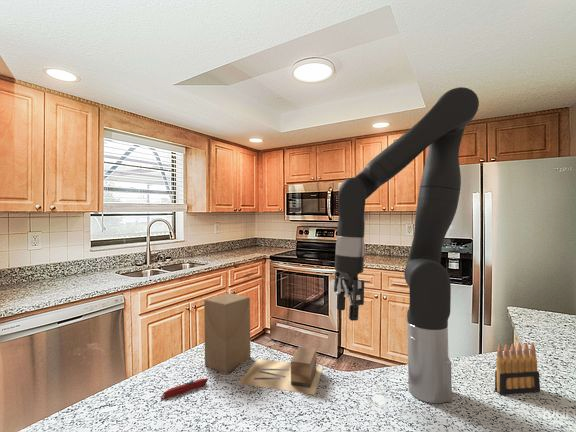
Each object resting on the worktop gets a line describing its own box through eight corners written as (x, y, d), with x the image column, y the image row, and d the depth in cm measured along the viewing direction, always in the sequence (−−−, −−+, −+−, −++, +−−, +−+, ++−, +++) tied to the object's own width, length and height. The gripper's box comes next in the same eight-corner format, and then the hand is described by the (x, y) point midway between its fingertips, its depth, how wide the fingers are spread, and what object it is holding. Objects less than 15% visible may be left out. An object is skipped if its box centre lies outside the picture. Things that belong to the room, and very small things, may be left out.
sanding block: (316, 370, 83) (316, 348, 83) (310, 387, 74) (310, 363, 74) (299, 368, 84) (298, 346, 84) (291, 385, 76) (290, 361, 76)
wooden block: (226, 375, 84) (225, 304, 84) (204, 365, 90) (203, 299, 90) (251, 361, 92) (250, 296, 92) (229, 353, 98) (228, 292, 98)
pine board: (323, 371, 85) (323, 366, 85) (314, 400, 72) (314, 394, 72) (257, 363, 90) (257, 358, 90) (238, 389, 77) (238, 383, 77)
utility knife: (207, 383, 80) (206, 376, 80) (208, 385, 79) (208, 377, 79) (160, 398, 74) (160, 390, 74) (161, 400, 73) (161, 392, 73)
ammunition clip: (500, 394, 73) (499, 345, 73) (494, 390, 75) (493, 342, 75) (540, 392, 74) (539, 343, 74) (533, 388, 76) (532, 340, 76)
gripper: (375, 257, 73) (372, 323, 73) (351, 251, 87) (349, 306, 87) (346, 256, 71) (343, 324, 71) (327, 250, 85) (324, 306, 85)
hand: (346, 314), depth 79 cm, fingers open, 8 cm apart
